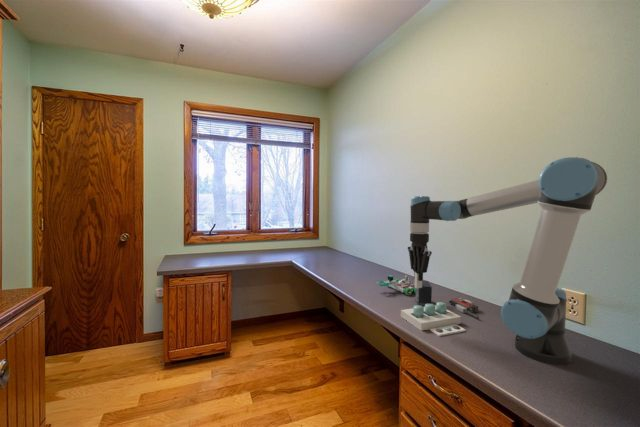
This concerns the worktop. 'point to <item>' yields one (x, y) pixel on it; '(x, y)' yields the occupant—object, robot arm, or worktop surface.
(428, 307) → the button
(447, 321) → the board
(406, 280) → the robot kit
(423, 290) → the small box
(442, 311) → the button
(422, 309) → the button
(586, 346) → the worktop surface
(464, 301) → the walkie-talkie
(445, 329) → the pattern card
